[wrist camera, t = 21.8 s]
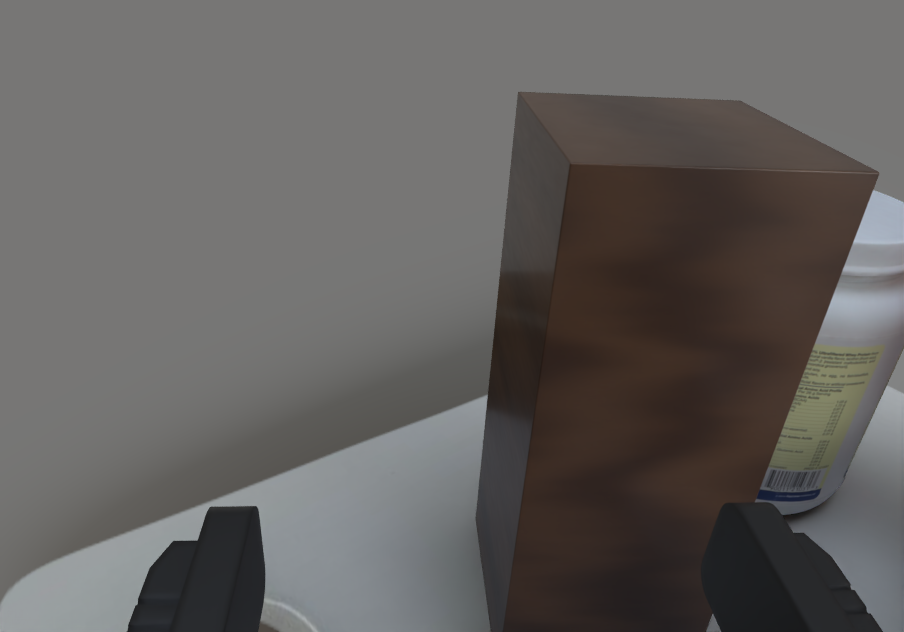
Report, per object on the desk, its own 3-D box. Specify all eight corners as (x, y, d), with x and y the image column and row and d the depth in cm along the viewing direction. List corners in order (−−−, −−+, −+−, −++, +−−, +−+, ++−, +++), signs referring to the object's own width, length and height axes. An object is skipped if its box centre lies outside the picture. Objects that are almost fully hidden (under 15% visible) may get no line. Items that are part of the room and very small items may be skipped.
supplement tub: (706, 376, 51) (771, 154, 42) (873, 469, 43) (995, 217, 34) (597, 436, 44) (648, 186, 36) (771, 560, 36) (891, 274, 28)
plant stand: (496, 673, 30) (570, 162, 18) (475, 518, 38) (518, 91, 26) (693, 665, 31) (880, 172, 19) (633, 515, 38) (740, 100, 27)
